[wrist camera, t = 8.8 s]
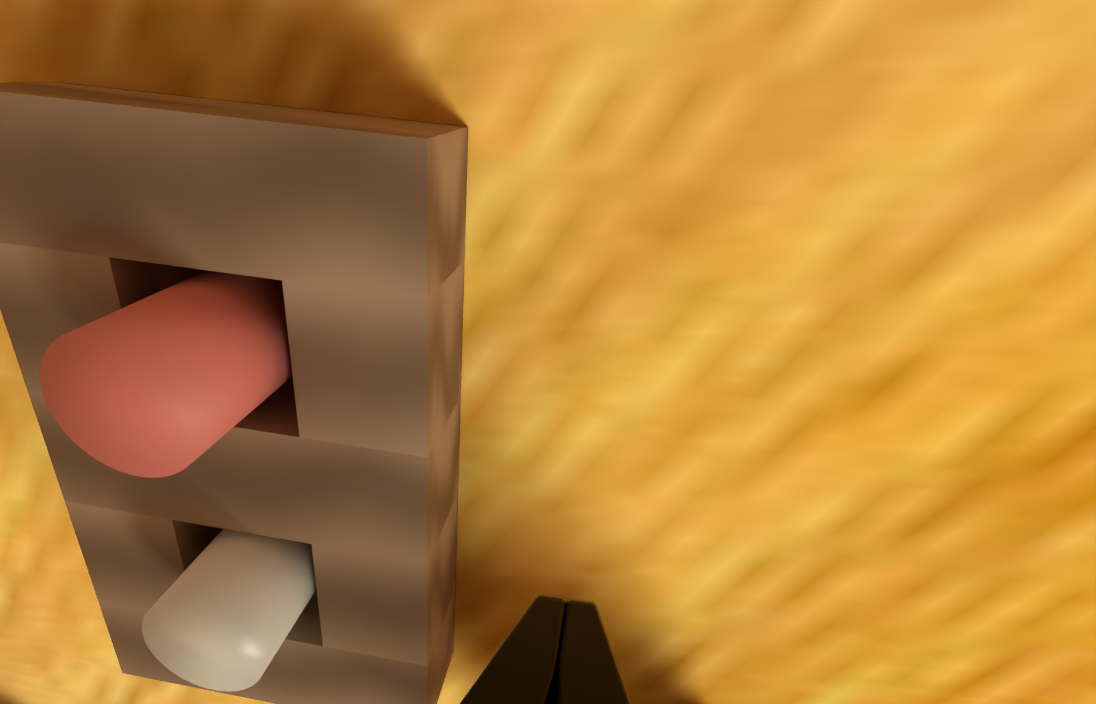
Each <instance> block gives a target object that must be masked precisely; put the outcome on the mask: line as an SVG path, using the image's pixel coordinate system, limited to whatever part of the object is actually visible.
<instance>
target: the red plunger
mask: <svg viewBox="0 0 1096 704" xmlns="http://www.w3.org/2000/svg"><path fill="white" fill-rule="evenodd" d="M292 376H293V374H292V365H291V356H290V347H289V339H288V330H287V321H286V312H285V303H284V294H283V285H282V280H275V279H268V278H260V277H253V276H246V275H238V274H231V273H223V272H216V271H208V270H207V271H204V272H202V273H200V274H198V275H195V276H193V277H191V278H189V279H187V280H184V281H182V282H180V283H178V284H175V285H173V286H171V287H169V288H166V289H164V290H162V291H160V292H157V293H155V294H153V295H151V296H149V297H146V298H144V299H142V300H140V301H137V302H135V303H133V304H131V305H128V306H126V307H124V308H122V309H120V310H117V311H115V312H113V313H111V314H108V315H106V316H104V317H102V318H99V319H97V320H95V321H93V322H90V323H88V324H86V325H84V326H82V327H79V328H77V329H75V330H73V331H70V332H68V333H66V334H64V335H62V336H60V337H59V338H57V339H56V340H54V341H53V342H52V343H51V344H50V345H49V347H48V348H47V350H46V351H45V353H44V356H43V358H42V362H41V367H40V382H41V388H42V392H43V396H44V398H45V401H46V403H47V406H48V408H49V410H50V412H51V414H52V415H53V417H54V418H55V420H56V421H57V423H58V424H59V426H60V427H61V428H62V430H63V431H64V432H65V433H66V434H67V435H68V436H69V437H70V439H71V440H72V441H73V442H74V443H76V444H77V445H78V446H79V447H80V448H81V449H82V450H84V451H85V452H86V453H88V454H89V455H90V456H92V457H93V458H95V459H96V460H98V461H99V462H101V463H103V464H105V465H107V466H109V467H111V468H113V469H115V470H118V471H120V472H123V473H126V474H130V475H134V476H139V477H147V478H159V477H167V476H170V475H174V474H176V473H178V472H180V471H182V470H184V469H185V468H186V467H188V466H189V465H190V464H191V463H192V462H194V461H195V460H196V459H197V458H198V457H199V456H201V455H202V454H203V453H204V452H205V451H206V450H207V449H209V448H210V447H211V446H212V445H213V444H214V443H216V442H217V441H218V440H219V439H220V438H221V437H222V436H224V435H225V434H226V433H227V432H228V431H229V430H231V429H232V428H233V427H234V426H235V425H236V424H238V423H239V422H240V421H241V420H242V419H243V418H244V417H246V416H247V415H248V414H249V413H250V412H251V411H253V410H254V409H255V408H256V407H257V406H258V405H260V404H261V403H262V402H263V401H264V400H265V399H266V398H268V397H269V396H270V395H271V394H272V393H273V392H275V391H276V390H277V389H278V388H279V387H280V386H281V385H283V384H284V383H285V382H286V381H287V380H288V379H290V378H291V377H292Z"/></svg>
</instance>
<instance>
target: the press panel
mask: <svg viewBox="0 0 1096 704" xmlns="http://www.w3.org/2000/svg"><path fill="white" fill-rule="evenodd" d="M467 151H468V127H466V126H456V125H447V124H438V123H429V122H419V121H410V120H401V119H391V118H382V117H373V116H364V115H354V114H345V113H336V112H326V111H317V110H308V109H299V108H289V107H280V106H271V105H261V104H252V103H243V102H234V101H224V100H215V99H206V98H196V97H187V96H178V95H169V94H159V93H150V92H141V91H131V90H122V89H113V88H104V87H94V86H85V85H76V84H67V83H57V82H37V83H0V309H1V312H2V315H3V318H4V321H5V324H6V327H7V330H8V333H9V336H10V339H11V342H12V345H13V348H14V351H15V354H16V357H17V360H18V363H19V366H20V369H21V372H22V375H23V378H24V381H25V384H26V387H27V390H28V393H29V396H30V399H31V402H32V405H33V408H34V411H35V414H36V416H37V419H38V422H39V425H40V428H41V431H42V434H43V437H44V440H45V443H46V446H47V449H48V452H49V455H50V458H51V461H52V464H53V467H54V470H55V473H56V476H57V479H58V482H59V485H60V488H61V491H62V494H63V497H64V500H65V503H66V506H67V509H68V512H69V515H70V518H71V521H72V524H73V527H74V530H75V533H76V536H77V539H78V542H79V545H80V548H81V551H82V554H83V557H84V559H85V562H86V565H87V568H88V571H89V574H90V577H91V580H92V583H93V586H94V589H95V592H96V595H97V598H98V601H99V604H100V607H101V610H102V613H103V616H104V619H105V622H106V625H107V628H108V631H109V634H110V637H111V640H112V643H113V646H114V649H115V652H116V655H117V658H118V661H119V664H120V667H121V670H122V673H125V674H130V675H135V676H140V677H145V678H150V679H155V680H161V681H166V682H171V683H176V684H181V685H186V686H191V687H196V688H201V689H206V690H211V689H207V688H204V687H201V686H198V685H195V684H193V683H190V682H188V681H186V680H184V679H182V678H181V677H179V676H177V675H176V674H174V673H173V672H171V671H170V670H169V669H167V668H166V667H165V666H164V665H163V664H162V663H161V662H159V661H158V660H157V658H156V657H155V656H154V655H153V654H152V652H151V651H150V649H149V648H148V646H147V644H146V642H145V640H144V637H143V633H142V621H143V618H144V616H145V614H146V613H147V611H148V610H149V609H150V608H151V607H152V606H153V605H154V604H155V603H156V602H157V601H158V599H159V598H160V597H161V596H162V595H163V594H164V593H165V592H166V591H167V590H168V589H169V587H170V586H171V585H172V584H173V583H174V582H175V581H176V580H177V579H178V578H179V577H180V575H181V574H182V573H183V572H184V571H185V570H186V569H187V568H188V567H189V566H190V565H191V564H192V562H193V561H194V560H195V559H196V558H197V557H198V556H199V555H200V554H201V553H202V552H203V550H204V549H205V548H206V547H207V546H208V545H209V544H210V543H211V542H212V541H213V540H214V538H215V537H216V536H217V535H218V534H219V533H220V532H221V531H222V530H223V529H228V530H234V531H240V532H245V533H251V534H257V535H263V536H268V537H274V538H280V539H286V540H291V541H297V542H303V543H309V544H312V553H313V562H314V571H315V580H316V590H315V592H314V594H313V595H312V597H311V598H310V600H309V602H308V603H307V605H306V606H305V608H304V610H303V611H302V613H301V614H300V616H299V617H298V619H297V621H296V622H295V624H294V625H293V627H292V629H291V630H290V632H289V633H288V635H287V637H286V638H285V640H284V641H283V643H282V645H281V646H280V648H279V649H278V651H277V653H276V654H275V656H274V657H273V659H272V660H271V662H270V664H269V665H268V667H267V668H266V670H265V672H264V673H263V675H262V676H261V678H260V680H259V681H258V682H257V683H256V684H254V685H253V686H251V687H249V688H247V689H244V690H240V691H229V692H227V691H217V690H211V691H216V692H221V693H226V694H231V695H236V696H241V697H246V698H251V699H256V700H261V701H266V702H271V703H276V704H437V701H438V698H439V695H440V692H441V689H442V686H443V683H444V680H445V677H446V673H447V670H448V667H449V664H450V661H451V658H452V655H453V652H454V617H455V581H456V545H457V509H458V473H459V437H460V402H461V366H462V330H463V294H464V258H465V222H466V187H467ZM207 270H208V271H216V272H223V273H231V274H238V275H246V276H253V277H260V278H268V279H275V280H282V285H283V294H284V303H285V312H286V321H287V330H288V339H289V347H290V356H291V365H292V374H293V376H292V377H291V378H290V379H288V380H287V381H286V382H285V383H284V384H283V385H281V386H280V387H279V388H278V389H277V390H276V391H275V392H273V393H272V394H271V395H270V396H269V397H268V398H266V399H265V400H264V401H263V402H262V403H261V404H260V405H258V406H257V407H256V408H255V409H254V410H253V411H251V412H250V413H249V414H248V415H247V416H246V417H244V418H243V419H242V420H241V421H240V422H239V423H238V424H236V425H235V426H234V427H233V428H232V429H231V430H229V431H228V432H227V433H226V434H225V435H224V436H222V437H221V438H220V439H219V440H218V441H217V442H216V443H214V444H213V445H212V446H211V447H210V448H209V449H207V450H206V451H205V452H204V453H203V454H202V455H201V456H199V457H198V458H197V459H196V460H195V461H194V462H192V463H191V464H190V465H189V466H188V467H186V468H185V469H184V470H182V471H180V472H178V473H176V474H174V475H170V476H167V477H159V478H147V477H139V476H134V475H130V474H126V473H123V472H120V471H118V470H115V469H113V468H111V467H109V466H107V465H105V464H103V463H101V462H99V461H98V460H96V459H95V458H93V457H92V456H90V455H89V454H88V453H86V452H85V451H84V450H82V449H81V448H80V447H79V446H78V445H77V444H76V443H74V442H73V441H72V440H71V439H70V437H69V436H68V435H67V434H66V433H65V432H64V431H63V430H62V428H61V427H60V426H59V424H58V423H57V421H56V420H55V418H54V417H53V415H52V414H51V412H50V410H49V408H48V406H47V403H46V401H45V398H44V396H43V392H42V388H41V382H40V367H41V362H42V358H43V356H44V353H45V351H46V350H47V348H48V347H49V345H50V344H51V343H52V342H53V341H54V340H56V339H57V338H59V337H60V336H62V335H64V334H66V333H68V332H70V331H73V330H75V329H77V328H79V327H82V326H84V325H86V324H88V323H90V322H93V321H95V320H97V319H99V318H102V317H104V316H106V315H108V314H111V313H113V312H115V311H117V310H120V309H122V308H124V307H126V306H128V305H131V304H133V303H135V302H137V301H140V300H142V299H144V298H146V297H149V296H151V295H153V294H155V293H157V292H160V291H162V290H164V289H166V288H169V287H171V286H173V285H175V284H178V283H180V282H182V281H184V280H187V279H189V278H191V277H193V276H195V275H198V274H200V273H202V272H204V271H207Z"/></svg>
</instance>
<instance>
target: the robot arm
mask: <svg viewBox="0 0 1096 704" xmlns="http://www.w3.org/2000/svg"><path fill="white" fill-rule="evenodd" d="M460 704H631V703H630V700H629V697H628V694H627V692H626V689H625V686H624V683H623V680H622V677H621V674H620V672H619V669H618V666H617V663H616V660H615V657H614V654H613V652H612V649H611V646H610V643H609V640H608V637H607V634H606V632H605V629H604V626H603V623H602V620H601V617H600V614H599V611H598V609H597V606H596V605H595V604H594V603H593V602H591V601H584V600H577V599H570V600H568V601H567V605H566V600H565V599H564V598H563V597H558V596H551V595H544V594H541V595H539V596H538V597H537V598H536V599H535V601H534V602H533V603H532V605H531V606H530V607H529V609H528V610H527V612H526V613H525V614H524V616H523V617H522V619H521V620H520V621H519V623H518V624H517V625H516V627H515V628H514V630H513V631H512V632H511V634H510V635H509V637H508V638H507V639H506V641H505V642H504V643H503V645H502V646H501V648H500V649H499V650H498V652H497V653H496V655H495V656H494V657H493V659H492V660H491V661H490V663H489V664H488V666H487V667H486V668H485V670H484V671H483V673H482V674H481V675H480V677H479V678H478V679H477V681H476V682H475V684H474V685H473V686H472V688H471V689H470V690H469V692H468V693H467V695H466V696H465V697H464V699H463V700H462V702H461V703H460Z"/></svg>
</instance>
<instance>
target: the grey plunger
mask: <svg viewBox="0 0 1096 704" xmlns="http://www.w3.org/2000/svg"><path fill="white" fill-rule="evenodd" d="M315 590H316V580H315V571H314V562H313V553H312V544H309V543H303V542H297V541H291V540H286V539H280V538H274V537H268V536H263V535H257V534H251V533H245V532H240V531H234V530H228V529H223V530H222V531H221V532H220V533H219V534H218V535H217V536H216V537H215V538H214V540H213V541H212V542H211V543H210V544H209V545H208V546H207V547H206V548H205V549H204V550H203V552H202V553H201V554H200V555H199V556H198V557H197V558H196V559H195V560H194V561H193V562H192V564H191V565H190V566H189V567H188V568H187V569H186V570H185V571H184V572H183V573H182V574H181V575H180V577H179V578H178V579H177V580H176V581H175V582H174V583H173V584H172V585H171V586H170V587H169V589H168V590H167V591H166V592H165V593H164V594H163V595H162V596H161V597H160V598H159V599H158V601H157V602H156V603H155V604H154V605H153V606H152V607H151V608H150V609H149V610H148V611H147V613H146V614H145V616H144V618H143V621H142V633H143V637H144V640H145V642H146V644H147V646H148V648H149V649H150V651H151V652H152V654H153V655H154V656H155V657H156V658H157V660H158V661H159V662H161V663H162V664H163V665H164V666H165V667H166V668H167V669H169V670H170V671H171V672H173V673H174V674H176V675H177V676H179V677H181V678H182V679H184V680H186V681H188V682H190V683H193V684H195V685H198V686H201V687H204V688H207V689H211V690H217V691H227V692H229V691H240V690H244V689H247V688H249V687H251V686H253V685H254V684H256V683H257V682H258V681H259V680H260V678H261V676H262V675H263V673H264V672H265V670H266V668H267V667H268V665H269V664H270V662H271V660H272V659H273V657H274V656H275V654H276V653H277V651H278V649H279V648H280V646H281V645H282V643H283V641H284V640H285V638H286V637H287V635H288V633H289V632H290V630H291V629H292V627H293V625H294V624H295V622H296V621H297V619H298V617H299V616H300V614H301V613H302V611H303V610H304V608H305V606H306V605H307V603H308V602H309V600H310V598H311V597H312V595H313V594H314V592H315Z"/></svg>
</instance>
